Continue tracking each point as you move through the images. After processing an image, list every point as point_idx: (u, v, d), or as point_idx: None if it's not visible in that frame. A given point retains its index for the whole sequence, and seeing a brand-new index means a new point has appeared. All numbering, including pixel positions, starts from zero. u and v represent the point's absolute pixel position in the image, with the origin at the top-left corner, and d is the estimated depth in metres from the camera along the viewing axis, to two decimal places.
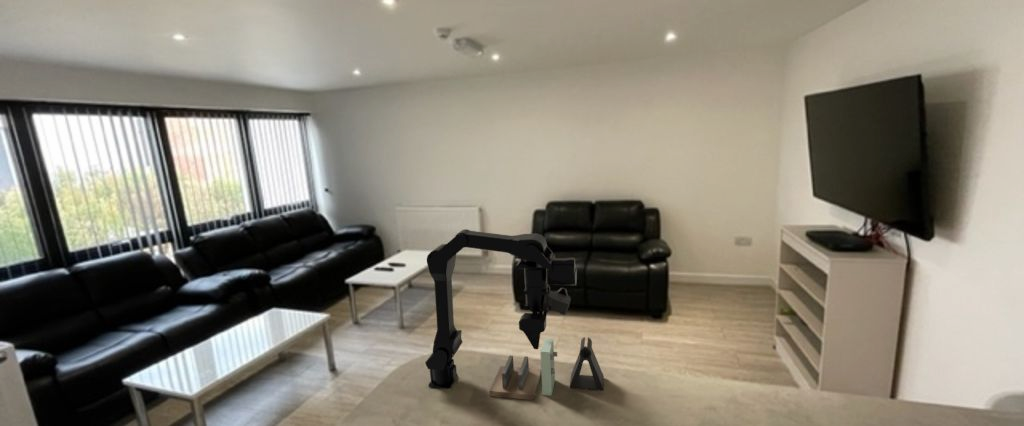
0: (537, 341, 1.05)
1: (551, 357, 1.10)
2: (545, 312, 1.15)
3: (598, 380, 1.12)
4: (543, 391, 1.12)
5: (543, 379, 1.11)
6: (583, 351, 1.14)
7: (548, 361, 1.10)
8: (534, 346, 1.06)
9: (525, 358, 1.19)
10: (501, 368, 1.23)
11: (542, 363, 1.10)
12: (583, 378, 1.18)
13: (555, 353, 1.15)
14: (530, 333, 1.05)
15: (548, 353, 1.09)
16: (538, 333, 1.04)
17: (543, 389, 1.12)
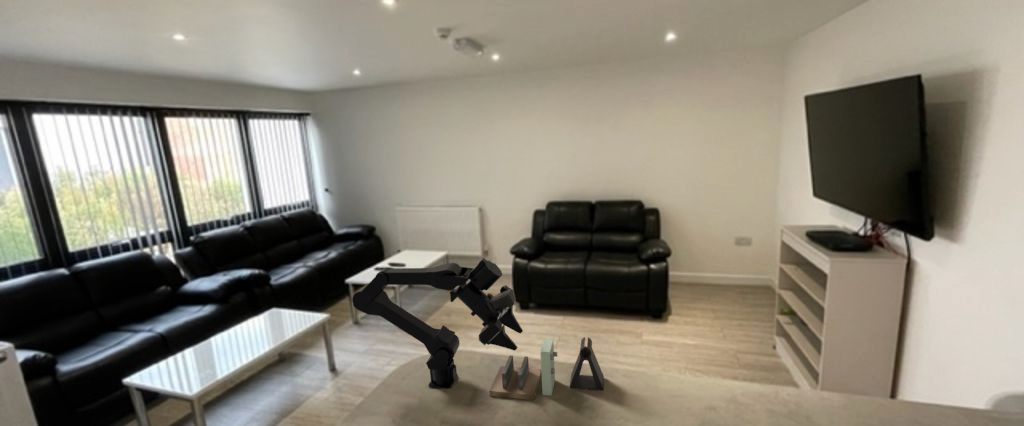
0: (509, 342, 1.09)
1: (551, 357, 1.10)
2: (510, 315, 1.19)
3: (598, 380, 1.12)
4: (543, 391, 1.12)
5: (543, 379, 1.11)
6: (583, 351, 1.14)
7: (548, 361, 1.10)
8: (512, 348, 1.10)
9: (525, 358, 1.19)
10: (501, 368, 1.23)
11: (542, 363, 1.10)
12: (583, 378, 1.18)
13: (555, 353, 1.15)
14: (499, 341, 1.09)
15: (548, 353, 1.09)
16: (503, 336, 1.08)
17: (543, 389, 1.12)
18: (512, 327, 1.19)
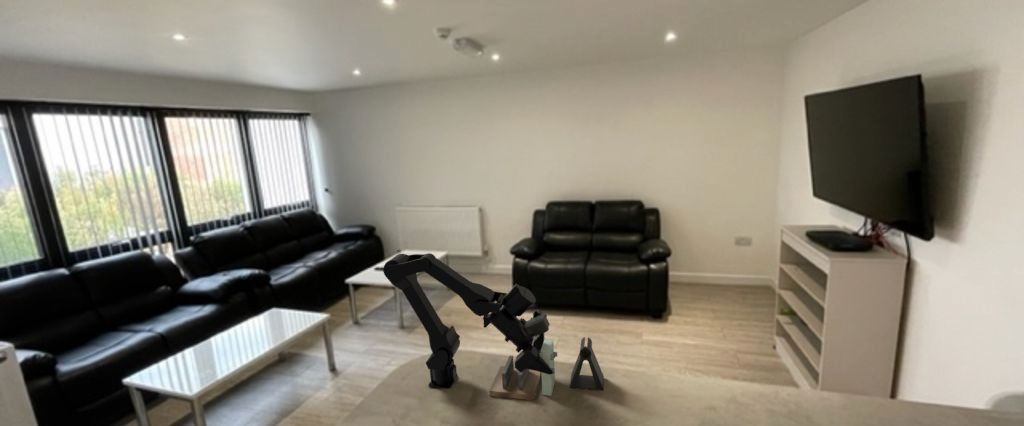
0: (545, 367, 1.09)
1: (551, 357, 1.10)
2: (542, 341, 1.17)
3: (598, 380, 1.12)
4: (543, 391, 1.12)
5: (543, 379, 1.11)
6: (583, 351, 1.14)
7: (548, 361, 1.10)
8: (548, 372, 1.10)
9: None
10: (501, 368, 1.23)
11: None
12: (583, 378, 1.18)
13: (555, 353, 1.15)
14: (535, 365, 1.09)
15: (548, 353, 1.09)
16: (539, 360, 1.08)
17: (543, 389, 1.12)
18: None
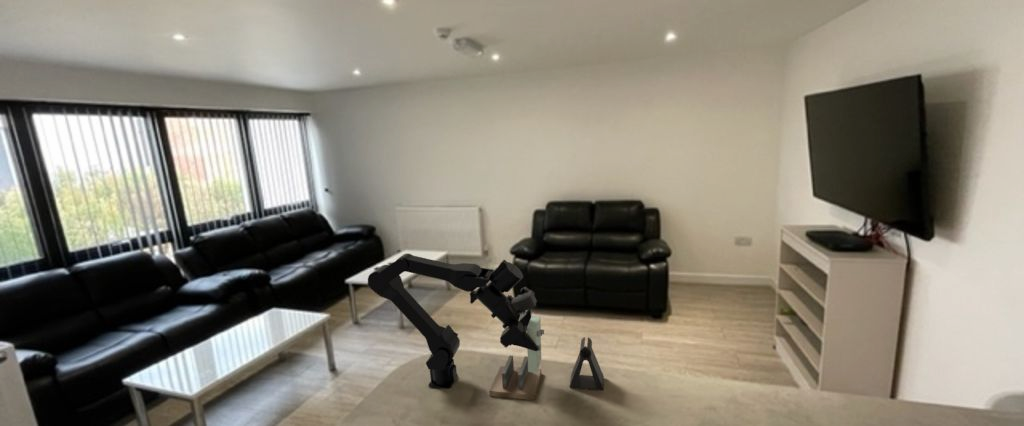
0: (531, 343, 1.09)
1: (537, 334, 1.09)
2: (529, 319, 1.17)
3: (598, 380, 1.12)
4: (529, 368, 1.11)
5: (529, 356, 1.11)
6: (583, 351, 1.14)
7: (534, 337, 1.09)
8: (534, 349, 1.09)
9: (525, 358, 1.19)
10: (501, 368, 1.23)
11: None
12: (583, 378, 1.18)
13: (542, 331, 1.15)
14: (520, 341, 1.09)
15: (534, 329, 1.09)
16: (525, 336, 1.08)
17: (529, 366, 1.11)
18: None
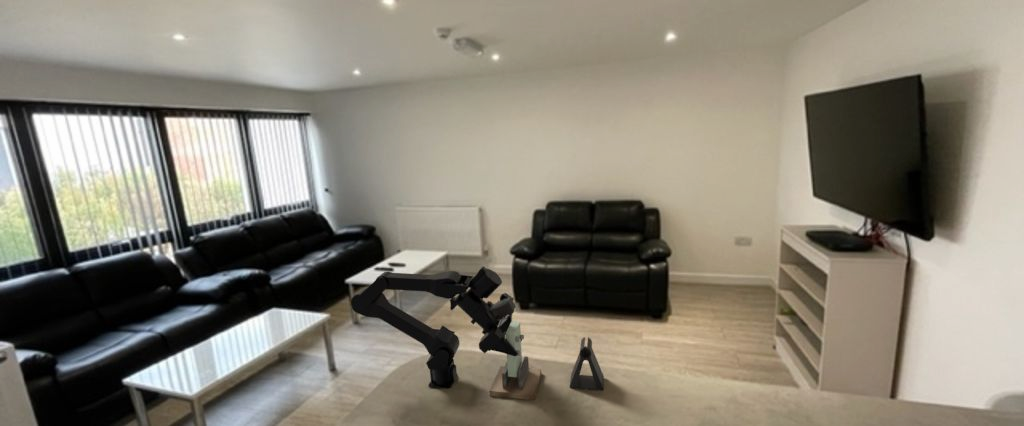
0: (510, 348, 1.10)
1: (516, 339, 1.11)
2: (509, 324, 1.18)
3: (598, 380, 1.12)
4: (508, 373, 1.13)
5: (508, 361, 1.12)
6: (583, 351, 1.14)
7: (513, 343, 1.11)
8: (513, 354, 1.11)
9: (525, 358, 1.19)
10: (501, 368, 1.23)
11: None
12: (583, 378, 1.18)
13: (522, 336, 1.16)
14: (499, 347, 1.10)
15: (513, 335, 1.11)
16: (503, 342, 1.09)
17: (508, 371, 1.13)
18: None
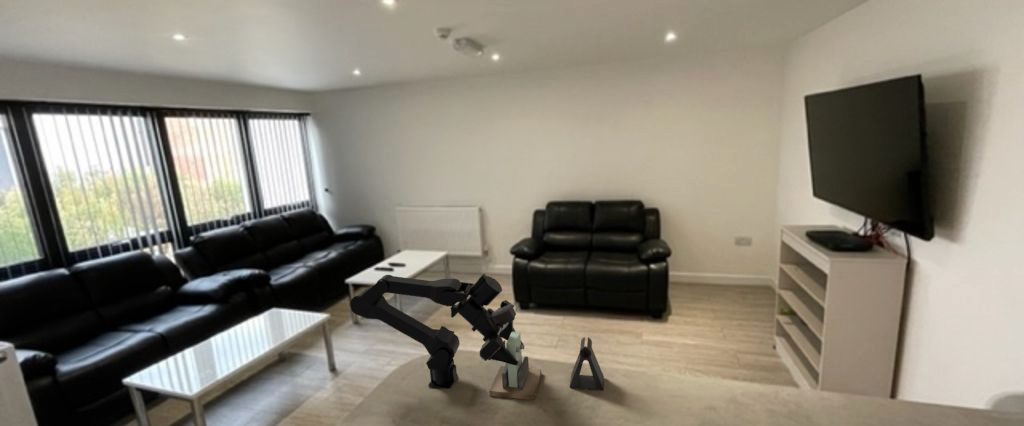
0: (510, 357, 1.10)
1: (517, 349, 1.12)
2: (510, 329, 1.20)
3: (598, 380, 1.12)
4: (509, 383, 1.14)
5: (509, 371, 1.13)
6: (583, 351, 1.14)
7: (514, 353, 1.12)
8: (513, 363, 1.11)
9: (525, 358, 1.19)
10: (501, 368, 1.23)
11: None
12: (583, 378, 1.18)
13: (522, 346, 1.17)
14: (499, 356, 1.10)
15: (514, 345, 1.11)
16: (503, 351, 1.09)
17: (509, 381, 1.14)
18: None
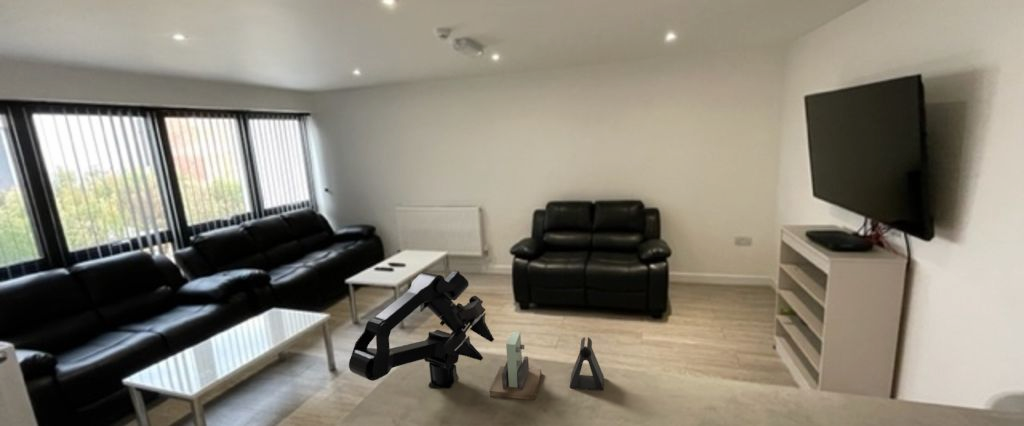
0: (475, 353, 1.11)
1: (517, 349, 1.12)
2: (481, 324, 1.21)
3: (598, 380, 1.12)
4: (509, 383, 1.14)
5: (509, 371, 1.13)
6: (583, 351, 1.14)
7: (514, 353, 1.12)
8: (478, 358, 1.12)
9: (525, 358, 1.19)
10: (501, 368, 1.23)
11: (508, 355, 1.12)
12: (583, 378, 1.18)
13: (522, 346, 1.17)
14: (464, 351, 1.12)
15: (514, 345, 1.11)
16: (467, 346, 1.10)
17: (509, 381, 1.14)
18: (484, 335, 1.21)
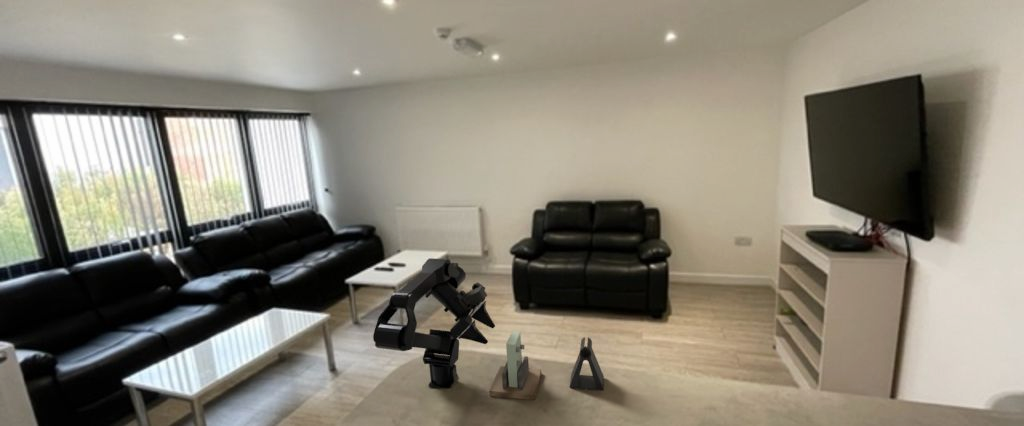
0: (480, 336, 1.14)
1: (517, 349, 1.12)
2: (483, 311, 1.24)
3: (598, 380, 1.12)
4: (509, 383, 1.14)
5: (509, 371, 1.13)
6: (583, 351, 1.14)
7: (514, 353, 1.12)
8: (483, 342, 1.15)
9: (525, 358, 1.19)
10: (501, 368, 1.23)
11: (508, 355, 1.12)
12: (583, 378, 1.18)
13: (522, 346, 1.17)
14: (470, 335, 1.15)
15: (514, 345, 1.11)
16: (473, 330, 1.14)
17: (509, 381, 1.14)
18: (485, 322, 1.25)
